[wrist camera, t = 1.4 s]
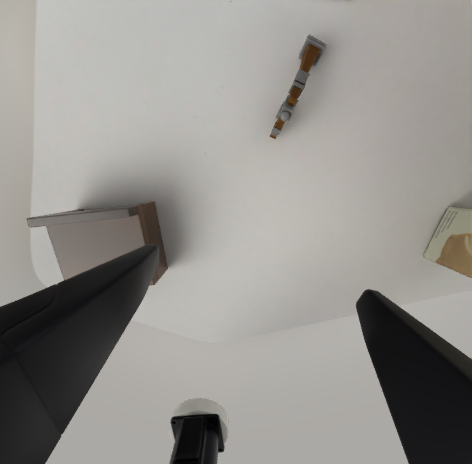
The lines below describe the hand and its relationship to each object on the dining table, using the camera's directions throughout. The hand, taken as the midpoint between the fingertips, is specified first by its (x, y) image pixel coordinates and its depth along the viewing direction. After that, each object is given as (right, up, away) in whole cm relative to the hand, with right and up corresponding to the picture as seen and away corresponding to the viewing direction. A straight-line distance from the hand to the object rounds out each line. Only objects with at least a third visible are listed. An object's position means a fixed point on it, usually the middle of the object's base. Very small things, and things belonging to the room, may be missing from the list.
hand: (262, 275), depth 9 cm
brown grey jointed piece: (+4, +15, +11) cm, 19 cm away
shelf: (-14, +1, +15) cm, 20 cm away
